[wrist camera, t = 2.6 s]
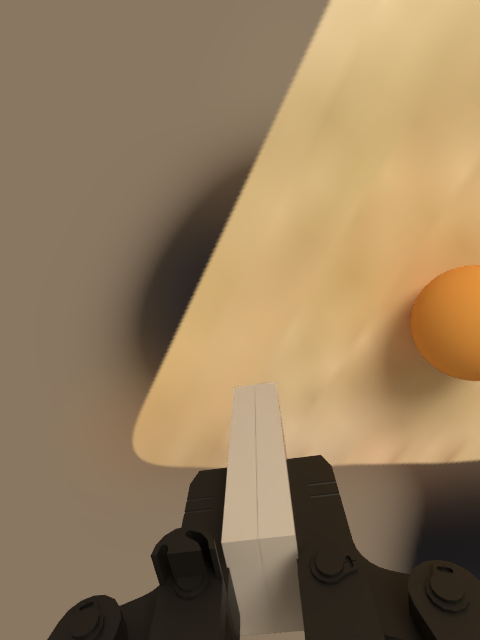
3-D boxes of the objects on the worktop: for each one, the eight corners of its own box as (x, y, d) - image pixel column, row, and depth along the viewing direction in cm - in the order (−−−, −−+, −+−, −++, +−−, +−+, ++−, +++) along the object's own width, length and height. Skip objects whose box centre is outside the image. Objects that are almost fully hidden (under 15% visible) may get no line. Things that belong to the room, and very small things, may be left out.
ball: (521, 281, 22) (605, 313, 16) (462, 367, 23) (521, 420, 18) (430, 239, 21) (487, 258, 16) (377, 330, 23) (413, 374, 18)
